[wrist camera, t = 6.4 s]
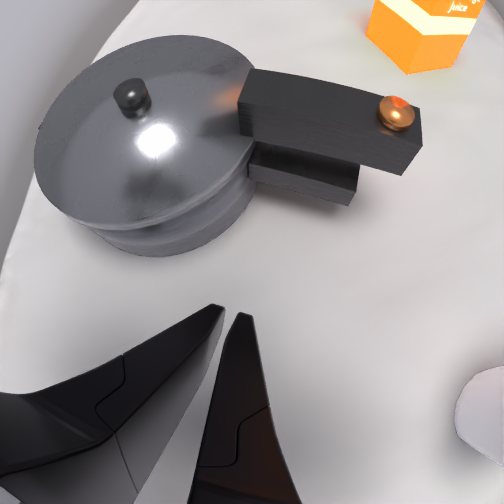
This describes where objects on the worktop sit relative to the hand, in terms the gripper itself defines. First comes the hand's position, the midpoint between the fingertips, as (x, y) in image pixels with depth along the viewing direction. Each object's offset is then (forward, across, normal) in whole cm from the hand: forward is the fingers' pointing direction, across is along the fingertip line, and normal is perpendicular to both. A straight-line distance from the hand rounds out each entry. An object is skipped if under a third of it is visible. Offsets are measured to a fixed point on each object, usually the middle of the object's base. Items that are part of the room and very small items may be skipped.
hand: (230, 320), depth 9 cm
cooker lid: (+12, +6, -3) cm, 14 cm away
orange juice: (+34, -10, -16) cm, 38 cm away
